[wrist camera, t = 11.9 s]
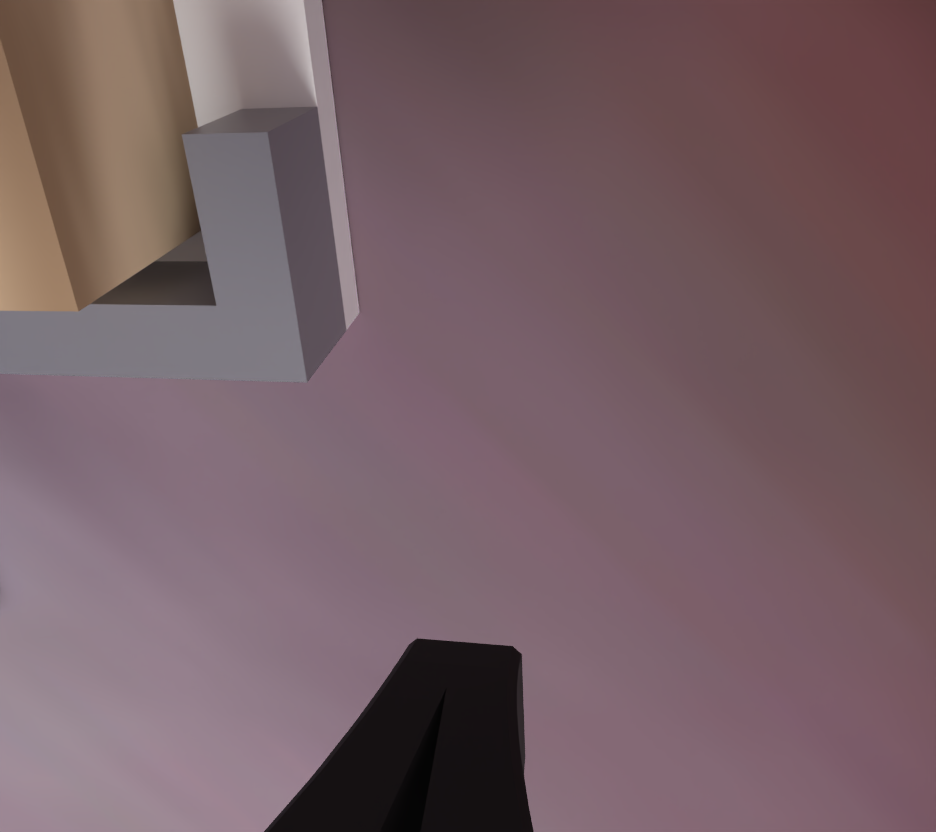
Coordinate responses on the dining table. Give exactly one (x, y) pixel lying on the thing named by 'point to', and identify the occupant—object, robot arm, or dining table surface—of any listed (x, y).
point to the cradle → (230, 222)
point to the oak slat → (90, 147)
